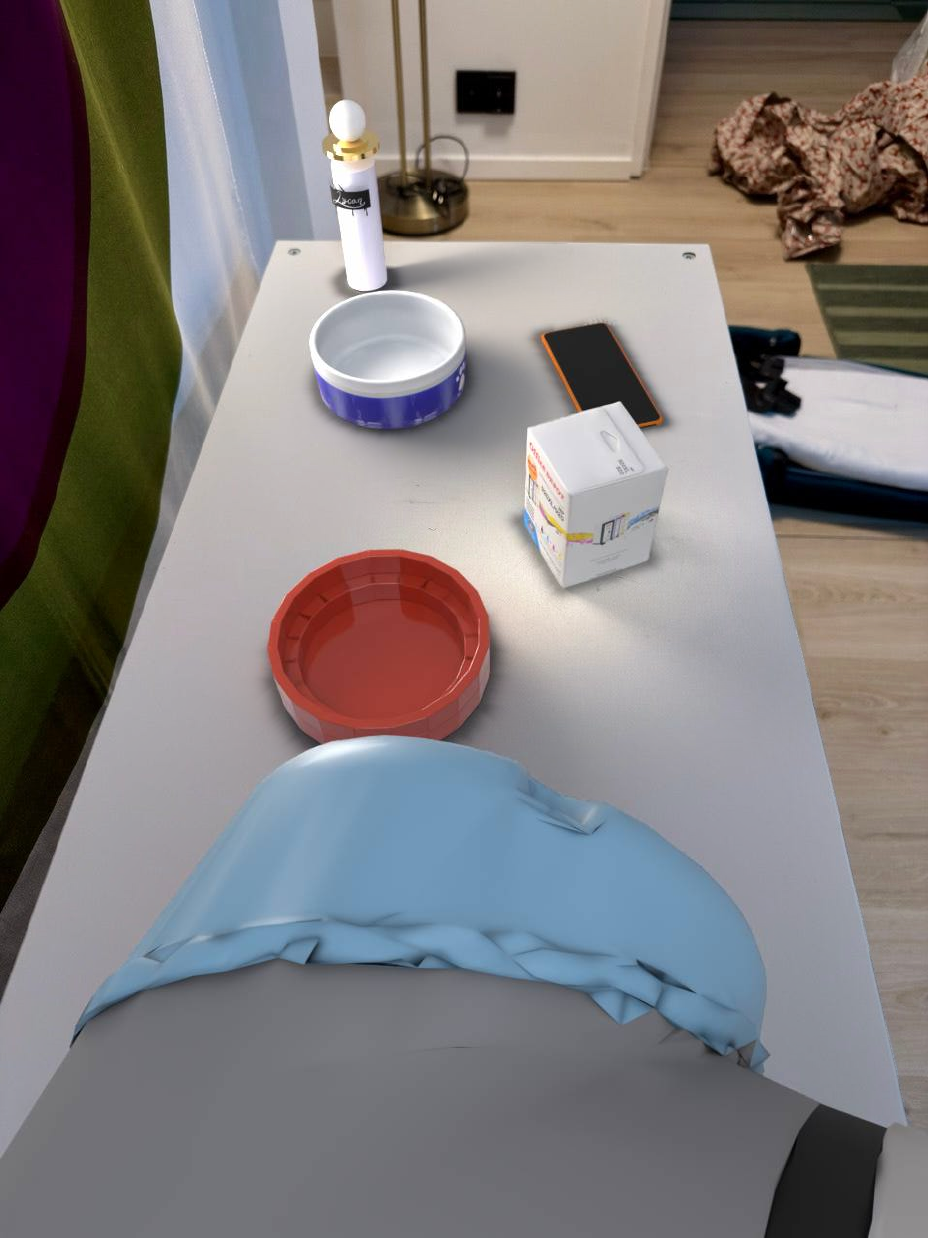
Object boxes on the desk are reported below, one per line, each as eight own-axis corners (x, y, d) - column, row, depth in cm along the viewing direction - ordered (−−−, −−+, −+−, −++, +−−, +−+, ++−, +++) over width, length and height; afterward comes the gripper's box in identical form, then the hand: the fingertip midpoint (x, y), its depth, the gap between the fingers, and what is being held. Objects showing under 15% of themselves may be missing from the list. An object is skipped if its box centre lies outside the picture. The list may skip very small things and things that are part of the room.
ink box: (520, 524, 80) (523, 423, 71) (605, 498, 82) (619, 396, 73) (560, 594, 75) (570, 495, 66) (650, 564, 77) (672, 464, 68)
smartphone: (591, 440, 86) (592, 434, 86) (539, 339, 96) (539, 332, 96) (665, 425, 87) (666, 419, 87) (606, 326, 97) (607, 319, 96)
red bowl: (519, 725, 68) (521, 690, 64) (304, 790, 65) (292, 757, 61) (452, 567, 78) (450, 527, 74) (263, 617, 75) (250, 579, 71)
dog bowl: (347, 329, 98) (339, 280, 93) (482, 348, 96) (482, 298, 91) (297, 420, 90) (286, 370, 85) (444, 443, 87) (441, 394, 82)
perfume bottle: (351, 268, 105) (326, 85, 89) (399, 273, 105) (382, 90, 89) (336, 296, 102) (307, 112, 86) (385, 302, 101) (365, 116, 85)
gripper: (-128, 868, 20) (347, 878, 39) (-565, 2432, 15) (236, 1569, 33) (118, 924, 17) (507, 906, 36) (-316, 2941, 12) (415, 1674, 30)
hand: (378, 1225), depth 35 cm, fingers open, 13 cm apart
